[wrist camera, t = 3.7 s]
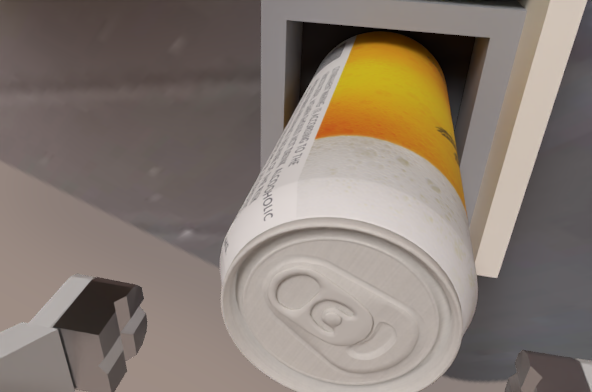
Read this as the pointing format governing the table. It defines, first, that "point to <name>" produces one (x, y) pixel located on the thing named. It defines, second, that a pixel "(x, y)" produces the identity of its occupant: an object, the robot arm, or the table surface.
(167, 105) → the table surface
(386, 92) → the beer can
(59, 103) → the table surface
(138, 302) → the robot arm
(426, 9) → the holder board
